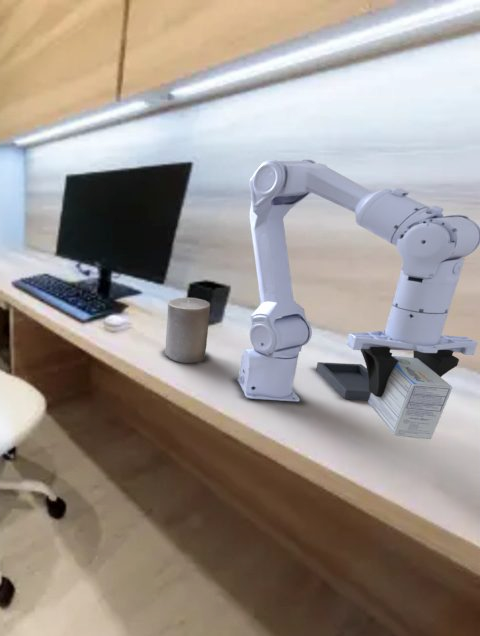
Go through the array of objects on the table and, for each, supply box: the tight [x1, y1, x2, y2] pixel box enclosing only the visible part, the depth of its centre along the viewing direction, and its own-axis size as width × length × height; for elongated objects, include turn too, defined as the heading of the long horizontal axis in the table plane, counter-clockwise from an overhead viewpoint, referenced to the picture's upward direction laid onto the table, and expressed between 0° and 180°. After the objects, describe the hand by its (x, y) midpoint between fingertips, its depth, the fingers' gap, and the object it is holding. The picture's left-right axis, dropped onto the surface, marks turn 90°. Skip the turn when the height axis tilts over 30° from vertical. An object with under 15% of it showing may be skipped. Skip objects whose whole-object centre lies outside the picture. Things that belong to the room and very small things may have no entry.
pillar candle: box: [164, 297, 211, 364], centre depth 93 cm, size 10×10×15 cm
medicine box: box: [367, 355, 453, 440], centre depth 54 cm, size 8×4×9 cm, turn 166°
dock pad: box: [315, 361, 371, 401], centre depth 78 cm, size 9×13×2 cm
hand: (394, 394), depth 57 cm, fingers closed on medicine box, 4 cm apart
